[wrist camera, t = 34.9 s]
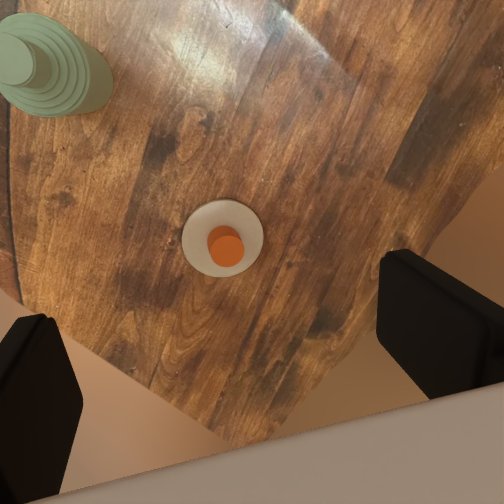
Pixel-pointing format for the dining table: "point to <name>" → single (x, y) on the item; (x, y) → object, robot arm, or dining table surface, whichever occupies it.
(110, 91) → the bottle
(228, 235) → the cap
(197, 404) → the dining table surface
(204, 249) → the coaster
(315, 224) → the dining table surface
